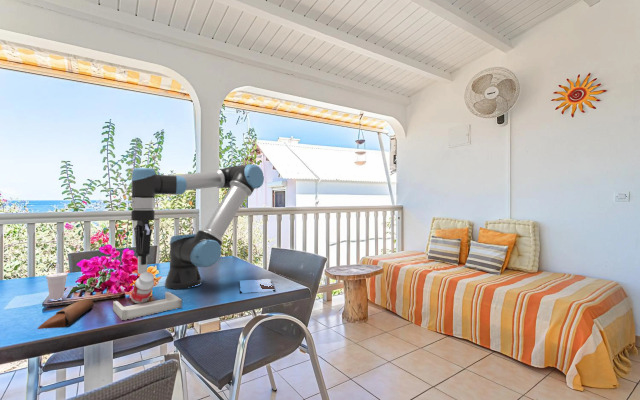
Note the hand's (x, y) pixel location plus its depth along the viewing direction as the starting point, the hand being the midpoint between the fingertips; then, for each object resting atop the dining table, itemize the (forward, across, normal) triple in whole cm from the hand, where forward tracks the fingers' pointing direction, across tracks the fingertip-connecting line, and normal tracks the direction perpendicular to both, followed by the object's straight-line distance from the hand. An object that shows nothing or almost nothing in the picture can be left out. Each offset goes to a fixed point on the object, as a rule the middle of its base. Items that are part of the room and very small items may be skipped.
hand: (142, 272), depth 118 cm
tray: (+11, +8, 0) cm, 14 cm away
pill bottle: (+10, -2, 0) cm, 10 cm away
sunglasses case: (+12, 0, -22) cm, 25 cm away
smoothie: (+12, -25, -22) cm, 36 cm away
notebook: (+13, +8, +45) cm, 47 cm away
